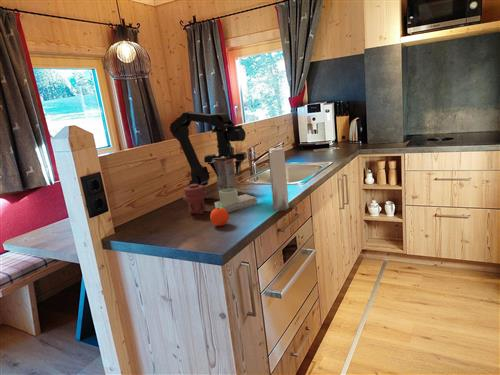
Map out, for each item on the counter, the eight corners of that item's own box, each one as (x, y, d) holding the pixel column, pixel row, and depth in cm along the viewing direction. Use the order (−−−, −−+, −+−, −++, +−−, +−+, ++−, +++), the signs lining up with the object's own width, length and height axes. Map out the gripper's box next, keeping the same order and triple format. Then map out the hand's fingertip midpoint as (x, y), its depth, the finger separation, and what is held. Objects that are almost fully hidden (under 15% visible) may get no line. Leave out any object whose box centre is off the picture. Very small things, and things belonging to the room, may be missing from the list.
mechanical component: (210, 213, 152) (187, 217, 149) (207, 207, 161) (184, 211, 159) (206, 185, 149) (182, 189, 146) (203, 180, 158) (180, 184, 156)
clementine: (222, 220, 142) (219, 203, 140) (235, 222, 137) (233, 205, 136) (207, 227, 136) (205, 209, 134) (220, 229, 131) (218, 211, 130)
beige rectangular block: (215, 209, 158) (213, 194, 156) (246, 200, 166) (244, 186, 164) (225, 213, 150) (223, 198, 149) (256, 204, 158) (255, 189, 157)
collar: (218, 204, 153) (216, 193, 152) (223, 199, 160) (222, 188, 159) (235, 203, 151) (234, 192, 150) (239, 198, 158) (238, 187, 157)
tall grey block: (279, 205, 153) (274, 147, 147) (292, 207, 149) (287, 147, 143) (270, 209, 148) (264, 149, 142) (283, 211, 144) (277, 149, 138)
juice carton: (228, 194, 179) (223, 150, 174) (218, 193, 183) (213, 150, 178) (237, 191, 184) (232, 148, 179) (227, 190, 188) (222, 148, 183)
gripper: (247, 137, 167) (251, 170, 170) (209, 141, 171) (213, 173, 175) (242, 141, 156) (246, 176, 160) (201, 144, 160) (206, 178, 164)
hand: (227, 175), depth 165 cm, fingers open, 9 cm apart
